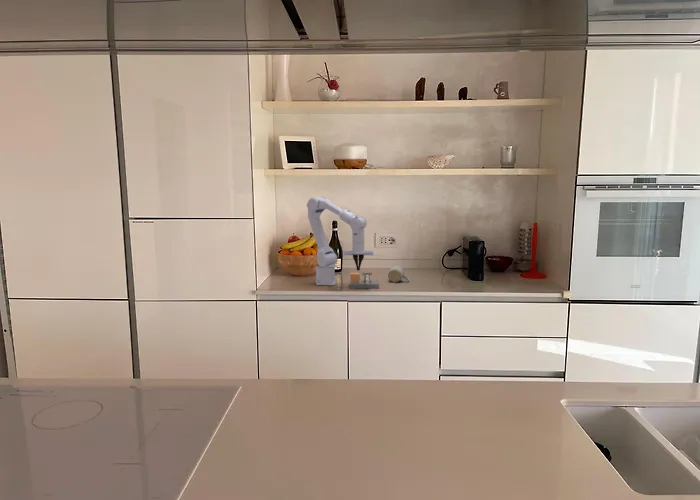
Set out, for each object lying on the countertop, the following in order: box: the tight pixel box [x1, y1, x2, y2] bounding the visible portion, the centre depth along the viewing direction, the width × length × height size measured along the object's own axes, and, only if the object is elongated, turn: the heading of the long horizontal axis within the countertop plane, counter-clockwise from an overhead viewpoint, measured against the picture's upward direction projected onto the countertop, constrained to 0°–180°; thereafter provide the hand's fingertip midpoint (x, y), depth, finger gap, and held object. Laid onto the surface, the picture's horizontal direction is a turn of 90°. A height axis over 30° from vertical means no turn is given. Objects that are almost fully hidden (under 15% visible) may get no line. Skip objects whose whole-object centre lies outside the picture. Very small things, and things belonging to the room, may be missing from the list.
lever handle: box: [362, 272, 373, 284], centre depth 252 cm, size 5×10×4 cm, turn 0°
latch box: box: [349, 279, 380, 289], centre depth 255 cm, size 14×11×2 cm
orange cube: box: [350, 272, 361, 282], centre depth 256 cm, size 4×4×4 cm
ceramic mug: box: [387, 265, 410, 283], centre depth 266 cm, size 11×8×8 cm
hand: (358, 270), depth 249 cm, fingers closed
